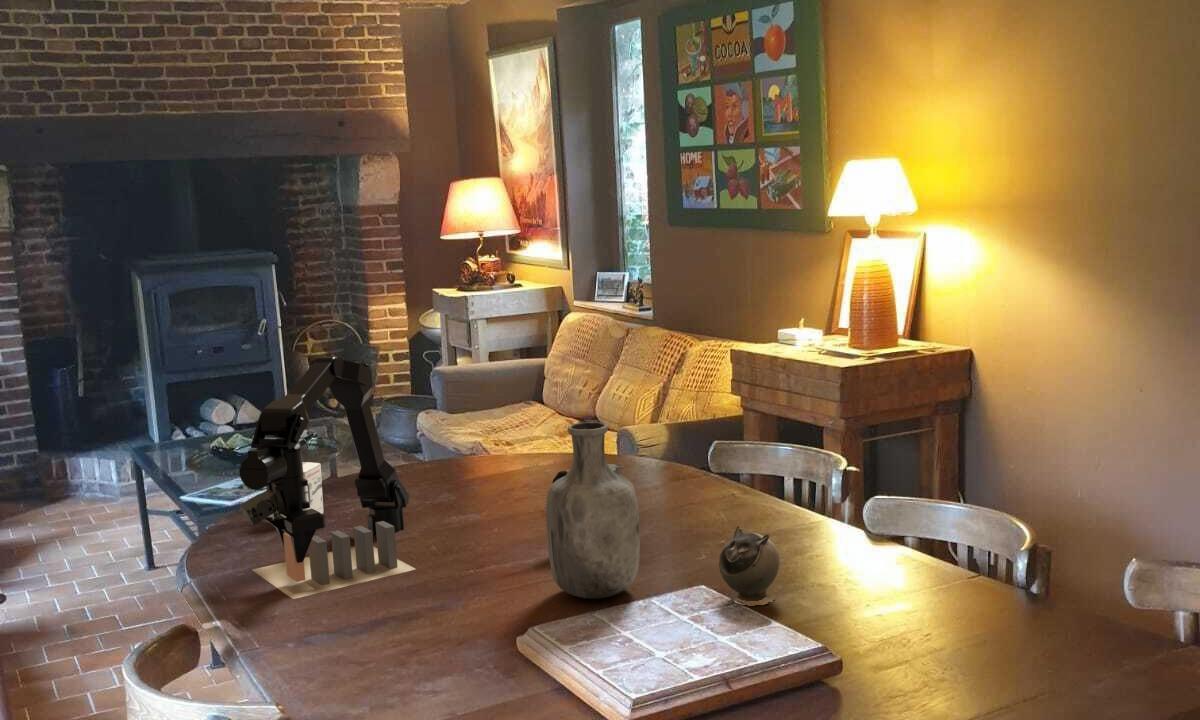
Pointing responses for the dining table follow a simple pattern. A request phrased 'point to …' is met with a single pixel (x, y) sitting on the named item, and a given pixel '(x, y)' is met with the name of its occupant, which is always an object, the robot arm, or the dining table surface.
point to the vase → (592, 521)
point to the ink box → (313, 485)
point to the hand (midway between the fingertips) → (294, 558)
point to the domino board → (309, 587)
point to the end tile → (292, 561)
